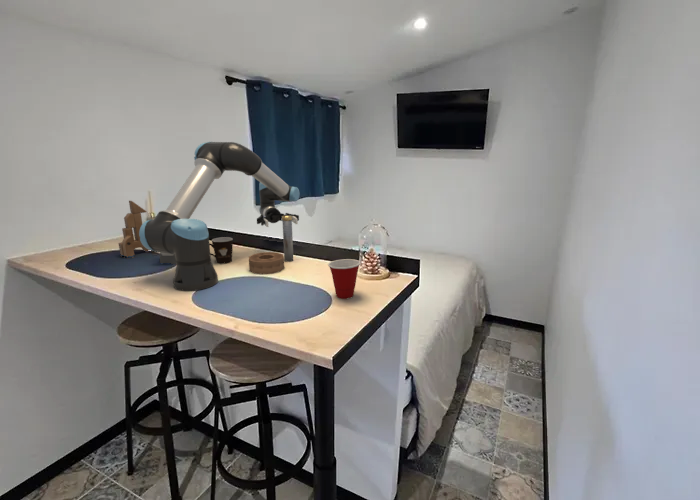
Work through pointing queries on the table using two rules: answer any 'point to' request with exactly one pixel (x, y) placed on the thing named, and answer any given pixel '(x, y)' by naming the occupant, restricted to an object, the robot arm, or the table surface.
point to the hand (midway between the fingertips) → (282, 222)
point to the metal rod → (287, 238)
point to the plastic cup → (344, 276)
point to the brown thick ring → (266, 263)
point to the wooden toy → (131, 222)
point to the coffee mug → (222, 249)
